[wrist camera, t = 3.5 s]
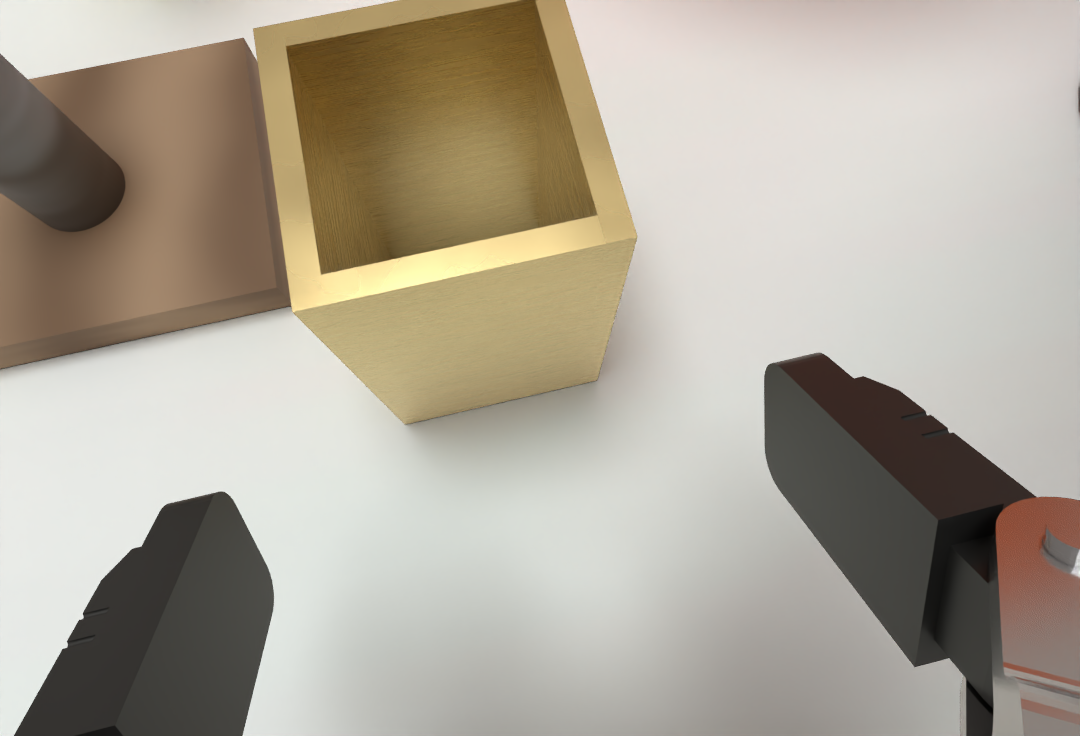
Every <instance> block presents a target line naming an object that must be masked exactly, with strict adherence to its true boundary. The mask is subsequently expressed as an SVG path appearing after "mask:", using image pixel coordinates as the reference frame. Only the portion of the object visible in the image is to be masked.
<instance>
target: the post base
mask: <svg viewBox="0 0 1080 736" xmlns="http://www.w3.org/2000/svg"><path fill="white" fill-rule="evenodd" d="M287 306H291V299H290V292H289V284H288V277H287V270H286V263H285V256H284V248H283V241H282V234H281V227H280V220H279V212H278V205H277V198H276V191H275V183H274V176H273V169H272V162H271V155H270V147H269V140H268V133H267V126H266V118H265V111H264V104H263V97H262V90H261V82H260V75H259V68H258V62H257V60H256V59H255V57H254V55H253V54H252V52H251V50H250V48H249V47H248V45H247V43H246V41H245V40H244V38H240V39H235V40H230V41H225V42H220V43H214V44H209V45H204V46H199V47H194V48H189V49H183V50H178V51H173V52H168V53H163V54H158V55H152V56H147V57H142V58H137V59H132V60H127V61H121V62H116V63H111V64H106V65H101V66H96V67H90V68H85V69H80V70H75V71H70V72H65V73H59V74H54V75H49V76H44V77H39V78H34V79H27V78H25V77H24V76H23V75H22V74H21V73H20V72H19V71H18V70H17V69H16V68H15V67H14V66H13V65H12V64H11V63H9V62H8V61H7V60H6V59H5V58H4V57H3V56H2V55H1V54H0V369H2V368H6V367H11V366H15V365H20V364H25V363H29V362H34V361H38V360H43V359H48V358H52V357H57V356H61V355H66V354H71V353H75V352H80V351H84V350H89V349H94V348H98V347H103V346H107V345H112V344H117V343H121V342H126V341H130V340H135V339H140V338H144V337H149V336H153V335H158V334H163V333H167V332H172V331H176V330H181V329H186V328H190V327H195V326H199V325H204V324H209V323H213V322H218V321H222V320H227V319H232V318H236V317H241V316H245V315H250V314H255V313H259V312H264V311H268V310H273V309H278V308H282V307H287Z"/></svg>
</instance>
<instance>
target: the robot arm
mask: <svg viewBox="0 0 1080 736" xmlns="http://www.w3.org/2000/svg"><path fill="white" fill-rule="evenodd" d="M764 405H765V454H766V459H767V464H768V467H769V470H770V473H771V475H772V478H773V480H774V482H775V484H776V485H777V487H778V489H779V490H780V491H781V493H782V494H783V495H784V497H785V498H786V499H787V500H788V502H789V503H790V504H791V506H792V507H793V508H794V510H795V511H796V512H797V514H798V515H799V516H800V517H801V519H802V520H803V521H804V523H805V524H806V525H807V527H808V528H809V529H810V531H811V532H812V533H813V535H814V536H815V537H816V538H817V540H818V541H819V542H820V544H821V545H822V546H823V548H824V549H825V550H826V552H827V553H828V554H829V555H830V557H831V558H832V559H833V561H834V562H835V563H836V565H837V566H838V567H839V569H840V570H841V571H842V572H843V574H844V575H845V576H846V578H847V579H848V580H849V582H850V583H851V584H852V586H853V587H854V588H855V590H856V591H857V592H858V593H859V595H860V596H861V597H862V599H863V600H864V601H865V603H866V604H867V605H868V607H869V608H870V609H871V610H872V612H873V613H874V614H875V616H876V617H877V618H878V620H879V621H880V622H881V624H882V625H883V626H884V627H885V629H886V630H887V631H888V633H889V634H890V635H891V637H892V638H893V639H894V641H895V642H896V643H897V645H898V646H899V647H900V648H901V650H902V651H903V652H904V654H905V655H906V656H907V658H908V659H909V660H910V662H911V663H912V664H913V665H914V667H917V666H921V665H925V664H928V663H932V662H936V661H940V660H943V659H947V658H950V659H951V661H952V662H953V663H954V664H955V665H956V667H957V668H958V669H959V670H960V671H961V673H962V674H963V678H962V683H961V690H960V736H1080V500H1075V499H1069V498H1060V497H1036V496H1034V495H1033V494H1032V493H1031V492H1029V491H1028V490H1027V489H1025V488H1024V487H1023V486H1022V485H1020V484H1019V483H1018V482H1016V481H1015V480H1014V479H1013V478H1011V477H1010V476H1009V475H1007V474H1006V473H1005V472H1004V471H1002V470H1001V469H1000V468H998V467H997V466H996V465H995V464H993V463H992V462H991V461H989V460H988V459H987V458H986V457H984V456H983V455H982V454H980V453H979V452H978V451H976V450H975V449H974V448H973V447H971V446H970V445H969V444H967V443H966V442H965V441H964V440H962V439H961V438H960V437H958V436H957V435H956V434H955V433H949V432H948V428H947V427H946V426H944V425H943V424H942V423H940V422H939V421H938V420H937V419H935V418H934V417H933V416H931V415H929V416H927V415H926V412H925V410H924V409H922V408H921V407H920V406H919V405H917V404H916V403H915V402H913V401H912V400H911V399H910V398H908V397H907V396H906V395H904V394H903V393H902V392H901V391H899V390H897V389H894V388H892V387H889V386H887V385H884V384H882V383H879V382H876V381H874V380H871V379H869V378H866V377H864V376H863V377H859V378H852V377H851V376H850V375H849V374H848V373H846V372H845V371H844V370H843V369H842V368H840V367H839V366H838V365H837V364H836V363H834V362H833V361H832V360H831V359H830V358H828V357H827V356H826V355H824V354H822V353H814V354H810V355H806V356H802V357H797V358H793V359H789V360H785V361H780V362H776V363H772V364H769V365H768V366H767V368H766V371H765V376H764ZM273 605H274V592H273V585H272V579H271V576H270V573H269V570H268V567H267V565H266V563H265V561H264V559H263V557H262V555H261V553H260V551H259V550H258V548H257V546H256V544H255V542H254V540H253V538H252V536H251V534H250V532H249V530H248V528H247V526H246V524H245V522H244V520H243V518H242V516H241V514H240V512H239V510H238V508H237V506H236V505H235V503H234V501H233V500H232V498H231V497H230V496H229V495H228V494H227V493H225V492H216V493H212V494H208V495H204V496H199V497H195V498H191V499H187V500H182V501H178V502H174V503H170V504H167V505H165V506H164V507H163V508H162V509H161V511H160V512H159V514H158V516H157V518H156V520H155V522H154V524H153V526H152V528H151V530H150V531H149V533H148V535H147V537H146V539H145V541H144V543H143V545H142V547H138V548H134V549H132V550H131V551H130V552H129V553H128V554H127V555H126V556H125V557H124V558H123V559H122V560H121V561H120V562H119V563H118V564H117V565H116V566H115V567H114V568H113V569H112V570H111V571H110V572H109V573H108V574H107V575H106V576H105V577H104V578H103V579H102V580H101V582H100V584H99V586H98V587H97V589H96V591H95V593H94V594H93V596H92V598H91V600H90V602H89V603H88V605H87V607H86V609H85V610H84V612H83V615H84V618H83V619H82V620H79V621H78V623H77V625H76V626H75V628H74V630H73V632H72V633H71V635H70V637H69V639H68V641H67V643H68V647H67V648H65V649H62V651H61V653H60V655H59V657H58V658H57V660H56V662H55V664H54V665H53V667H52V669H51V671H50V673H49V674H48V676H47V678H46V680H45V681H44V683H43V685H42V687H41V689H40V690H39V692H38V694H37V696H36V697H35V699H34V701H33V703H32V705H31V706H30V708H29V710H28V712H27V713H26V715H25V717H24V719H23V721H22V722H21V724H20V726H19V728H18V729H17V731H16V733H15V735H14V736H242V735H243V731H244V727H245V723H246V719H247V715H248V711H249V706H250V702H251V698H252V694H253V690H254V686H255V682H256V678H257V674H258V670H259V666H260V662H261V658H262V653H263V649H264V645H265V641H266V637H267V633H268V629H269V625H270V621H271V617H272V612H273Z"/></svg>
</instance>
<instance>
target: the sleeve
mask: <svg viewBox="0 0 1080 736" xmlns="http://www.w3.org/2000/svg"><path fill="white" fill-rule="evenodd" d="M253 32H254V39H255V46H256V54H257V61H258V68H259V75H260V82H261V90H262V97H263V104H264V111H265V118H266V126H267V133H268V140H269V147H270V155H271V162H272V169H273V176H274V183H275V191H276V198H277V205H278V212H279V220H280V227H281V234H282V241H283V248H284V256H285V263H286V270H287V277H288V284H289V292H290V299H291V306H292V312H293V313H294V314H295V315H296V316H297V317H298V318H299V319H300V320H301V321H302V322H303V323H304V324H305V325H306V326H307V327H308V328H309V329H310V330H311V331H312V332H313V333H314V334H315V335H316V336H317V337H318V338H319V339H320V340H321V341H322V342H323V343H324V344H325V345H326V346H327V347H328V348H329V349H330V350H331V351H332V352H333V353H334V354H335V355H336V356H337V357H338V358H339V359H340V360H341V361H342V362H343V363H344V364H345V365H346V366H347V367H348V368H349V369H350V370H351V371H352V372H353V373H354V374H355V375H356V376H357V377H358V378H359V379H360V380H361V381H362V382H363V383H364V384H365V385H366V386H367V387H368V388H369V389H370V390H371V391H372V392H373V393H374V394H375V395H376V396H377V397H378V398H379V399H380V400H381V401H382V402H383V403H384V404H385V405H386V406H387V407H388V408H389V409H390V410H391V411H392V412H393V413H394V414H395V415H396V416H397V417H398V418H399V419H400V420H401V421H402V422H403V423H404V424H410V423H414V422H418V421H423V420H427V419H431V418H436V417H440V416H445V415H449V414H453V413H458V412H462V411H466V410H471V409H475V408H479V407H484V406H488V405H492V404H497V403H501V402H505V401H510V400H514V399H518V398H523V397H527V396H531V395H536V394H540V393H545V392H549V391H553V390H558V389H562V388H566V387H571V386H575V385H579V384H584V383H588V382H592V381H597V379H598V376H599V372H600V369H601V365H602V361H603V358H604V354H605V351H606V347H607V344H608V340H609V336H610V333H611V329H612V326H613V322H614V319H615V315H616V311H617V308H618V304H619V301H620V297H621V294H622V290H623V287H624V283H625V279H626V276H627V272H628V269H629V265H630V262H631V258H632V254H633V251H634V247H635V244H636V240H637V234H636V230H635V227H634V224H633V221H632V217H631V214H630V211H629V208H628V204H627V201H626V198H625V195H624V191H623V188H622V185H621V181H620V178H619V175H618V172H617V168H616V165H615V162H614V159H613V155H612V152H611V149H610V146H609V142H608V139H607V136H606V133H605V129H604V126H603V123H602V119H601V116H600V113H599V110H598V106H597V103H596V100H595V97H594V93H593V90H592V87H591V84H590V80H589V77H588V74H587V71H586V67H585V64H584V61H583V57H582V54H581V51H580V48H579V44H578V41H577V38H576V35H575V31H574V28H573V25H572V22H571V18H570V15H569V12H568V8H567V5H566V2H565V0H399V1H394V2H389V3H383V4H378V5H373V6H368V7H363V8H357V9H352V10H347V11H342V12H337V13H331V14H326V15H321V16H316V17H311V18H306V19H300V20H295V21H290V22H285V23H280V24H274V25H269V26H264V27H259V28H254V29H253Z"/></svg>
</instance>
